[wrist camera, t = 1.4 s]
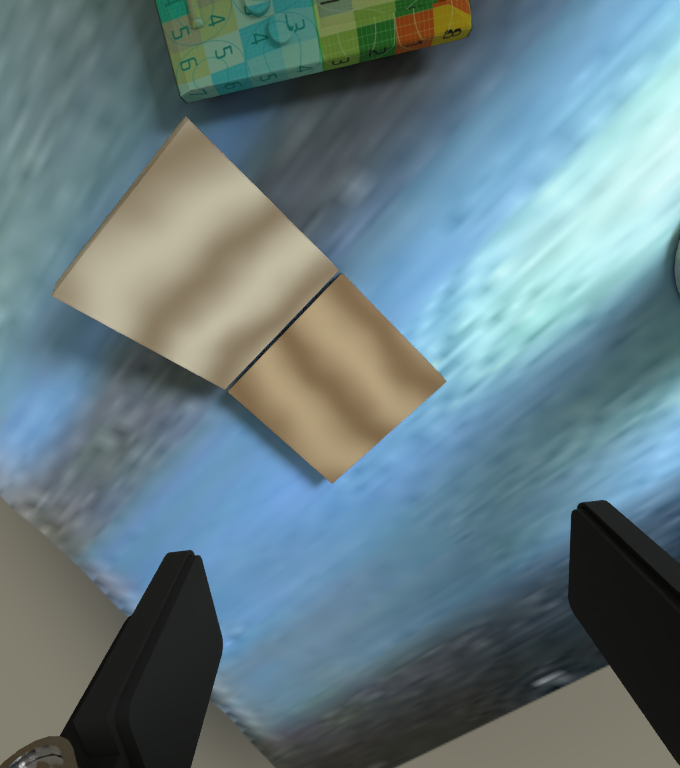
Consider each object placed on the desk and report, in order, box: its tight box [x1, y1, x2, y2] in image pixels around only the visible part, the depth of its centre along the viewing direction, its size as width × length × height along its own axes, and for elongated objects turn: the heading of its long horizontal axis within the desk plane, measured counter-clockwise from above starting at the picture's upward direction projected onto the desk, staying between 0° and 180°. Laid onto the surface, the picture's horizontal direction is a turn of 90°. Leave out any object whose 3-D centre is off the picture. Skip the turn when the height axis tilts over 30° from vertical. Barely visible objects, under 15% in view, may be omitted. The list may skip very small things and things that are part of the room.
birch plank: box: [52, 116, 339, 390], centre depth 31 cm, size 14×14×2 cm
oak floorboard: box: [228, 273, 446, 483], centre depth 37 cm, size 14×13×2 cm
